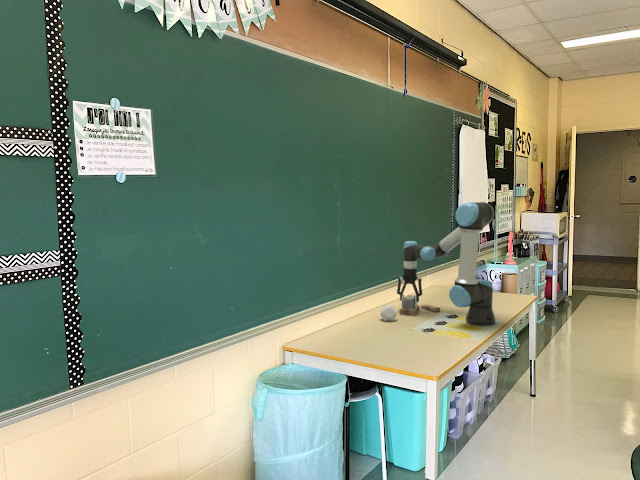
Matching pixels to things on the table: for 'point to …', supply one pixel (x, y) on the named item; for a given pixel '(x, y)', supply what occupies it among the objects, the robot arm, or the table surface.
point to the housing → (409, 302)
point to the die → (388, 313)
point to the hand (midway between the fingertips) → (409, 306)
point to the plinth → (410, 311)
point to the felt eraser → (430, 308)
